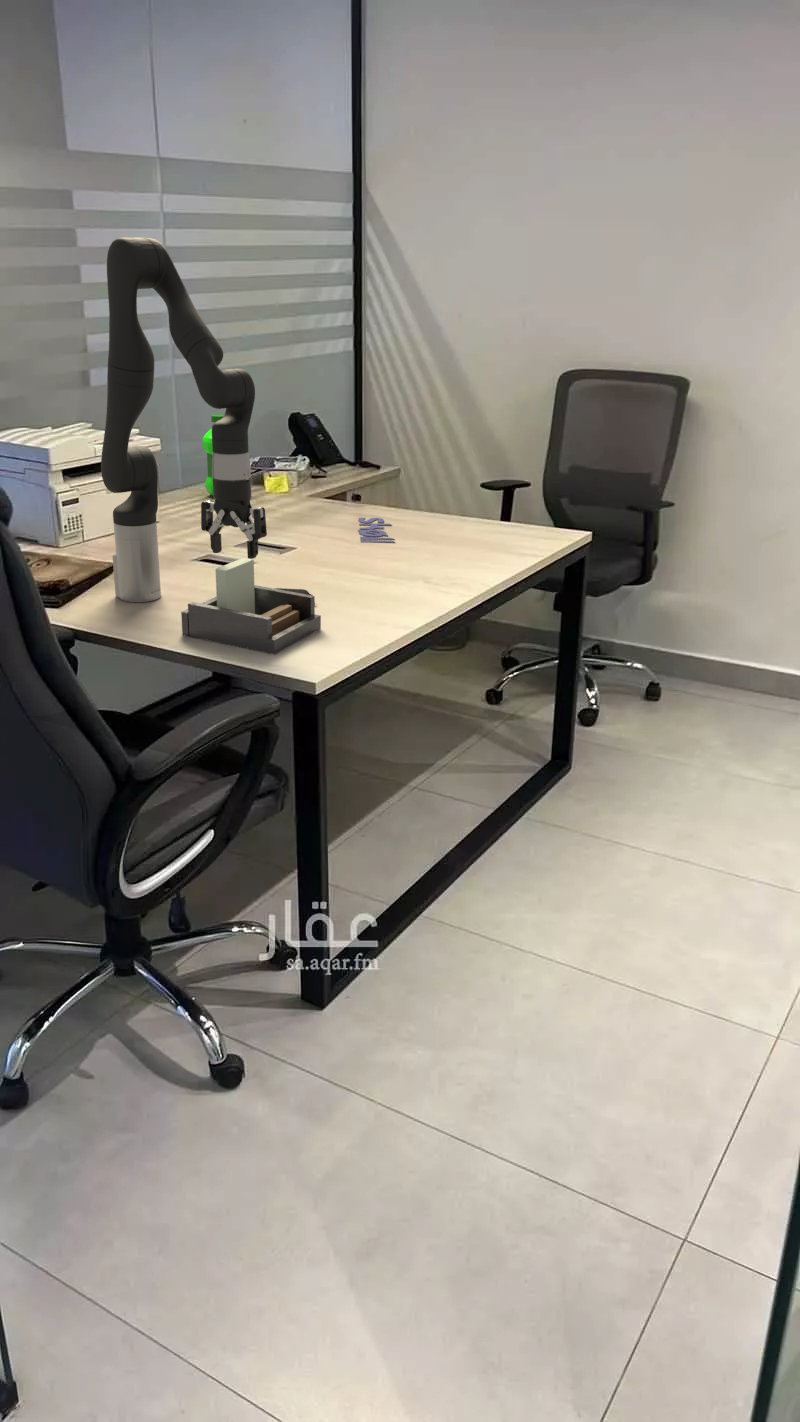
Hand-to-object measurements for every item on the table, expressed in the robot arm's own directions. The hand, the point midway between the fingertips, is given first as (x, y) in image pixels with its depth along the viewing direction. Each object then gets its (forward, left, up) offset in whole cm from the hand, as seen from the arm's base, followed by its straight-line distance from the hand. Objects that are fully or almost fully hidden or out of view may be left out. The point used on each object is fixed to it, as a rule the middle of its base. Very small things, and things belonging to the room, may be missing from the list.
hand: (234, 555), depth 217 cm
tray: (+4, 0, -16) cm, 16 cm away
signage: (-15, +92, -16) cm, 94 cm away
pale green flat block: (0, 0, -16) cm, 16 cm away
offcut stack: (+9, 0, -16) cm, 19 cm away
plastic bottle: (-77, +104, -16) cm, 130 cm away
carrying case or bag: (+2, +18, -16) cm, 24 cm away
